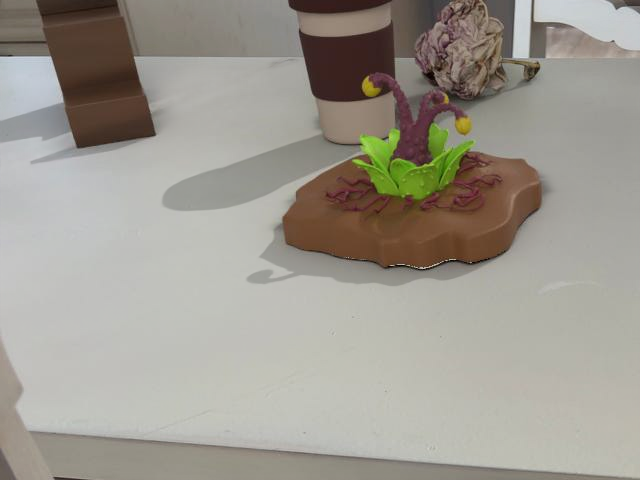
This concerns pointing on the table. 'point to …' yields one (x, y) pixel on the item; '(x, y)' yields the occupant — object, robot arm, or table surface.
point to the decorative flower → (465, 51)
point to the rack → (96, 71)
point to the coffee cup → (348, 64)
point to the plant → (414, 194)
